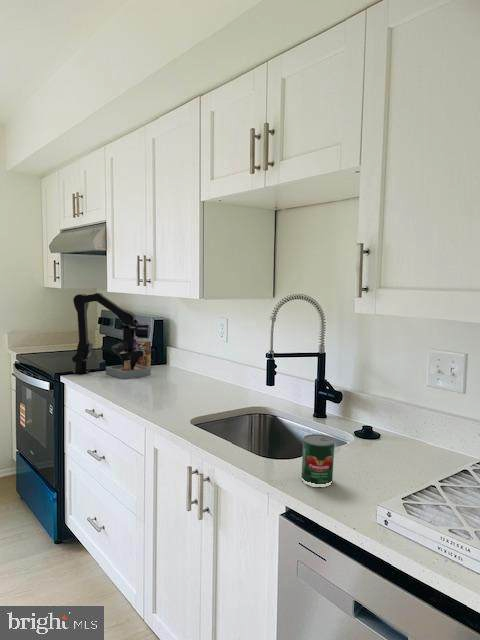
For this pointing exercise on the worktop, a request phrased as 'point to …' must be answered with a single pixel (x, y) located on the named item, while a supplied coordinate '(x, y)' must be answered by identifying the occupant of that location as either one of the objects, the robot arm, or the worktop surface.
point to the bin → (136, 372)
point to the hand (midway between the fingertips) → (128, 368)
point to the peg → (127, 365)
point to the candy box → (144, 352)
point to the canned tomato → (318, 458)
